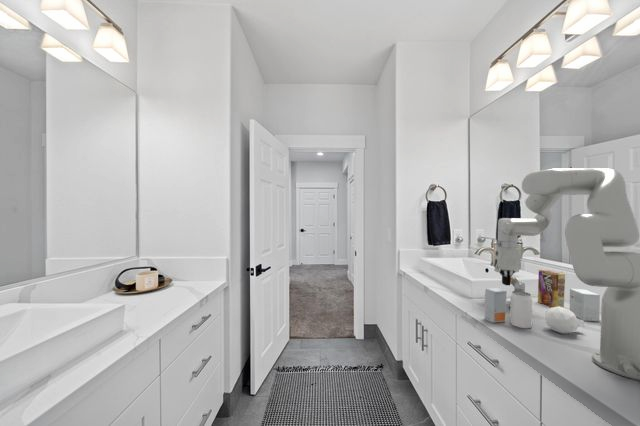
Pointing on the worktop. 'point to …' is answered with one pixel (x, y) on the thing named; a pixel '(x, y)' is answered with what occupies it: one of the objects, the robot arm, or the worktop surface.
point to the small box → (585, 304)
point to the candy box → (551, 288)
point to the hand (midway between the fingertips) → (506, 284)
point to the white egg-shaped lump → (562, 320)
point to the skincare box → (495, 305)
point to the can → (521, 309)
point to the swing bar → (517, 285)
